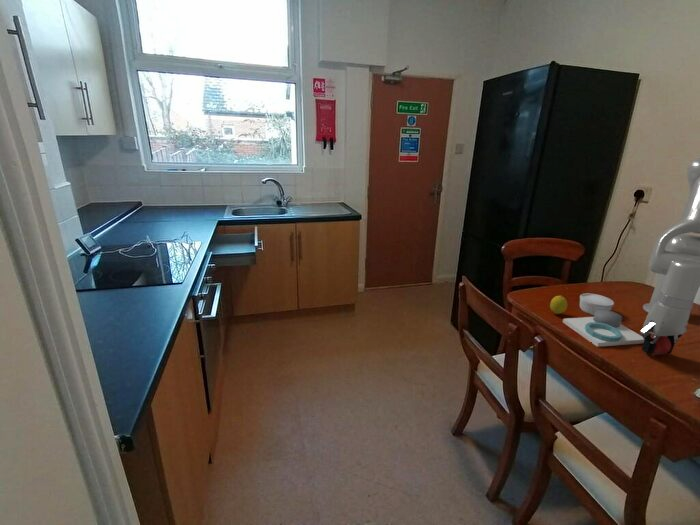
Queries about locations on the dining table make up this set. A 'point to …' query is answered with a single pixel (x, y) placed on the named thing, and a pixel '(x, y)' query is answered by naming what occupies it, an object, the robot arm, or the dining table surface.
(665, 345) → the pomegranate
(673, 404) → the dining table surface
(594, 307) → the ramekin
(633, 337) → the carrier plate
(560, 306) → the lemon
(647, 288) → the dining table surface
